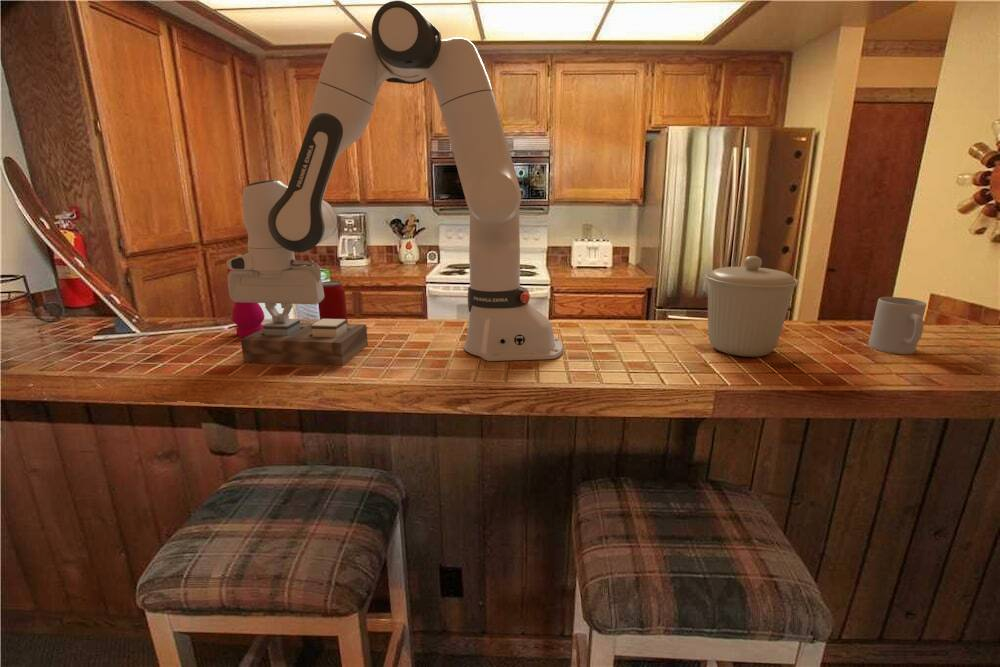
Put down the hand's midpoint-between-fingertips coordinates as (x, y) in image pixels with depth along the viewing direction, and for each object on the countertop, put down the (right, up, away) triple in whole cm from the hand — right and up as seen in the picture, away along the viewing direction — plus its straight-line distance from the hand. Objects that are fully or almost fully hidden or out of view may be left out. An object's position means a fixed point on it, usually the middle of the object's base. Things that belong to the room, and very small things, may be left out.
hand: (280, 322), depth 111 cm
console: (+6, -7, +1) cm, 9 cm away
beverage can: (+5, -1, +21) cm, 21 cm away
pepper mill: (-15, -3, +16) cm, 22 cm away
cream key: (+11, -5, 0) cm, 12 cm away
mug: (+137, -7, +1) cm, 137 cm away
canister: (+102, -6, +2) cm, 103 cm away
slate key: (0, -5, +1) cm, 5 cm away
